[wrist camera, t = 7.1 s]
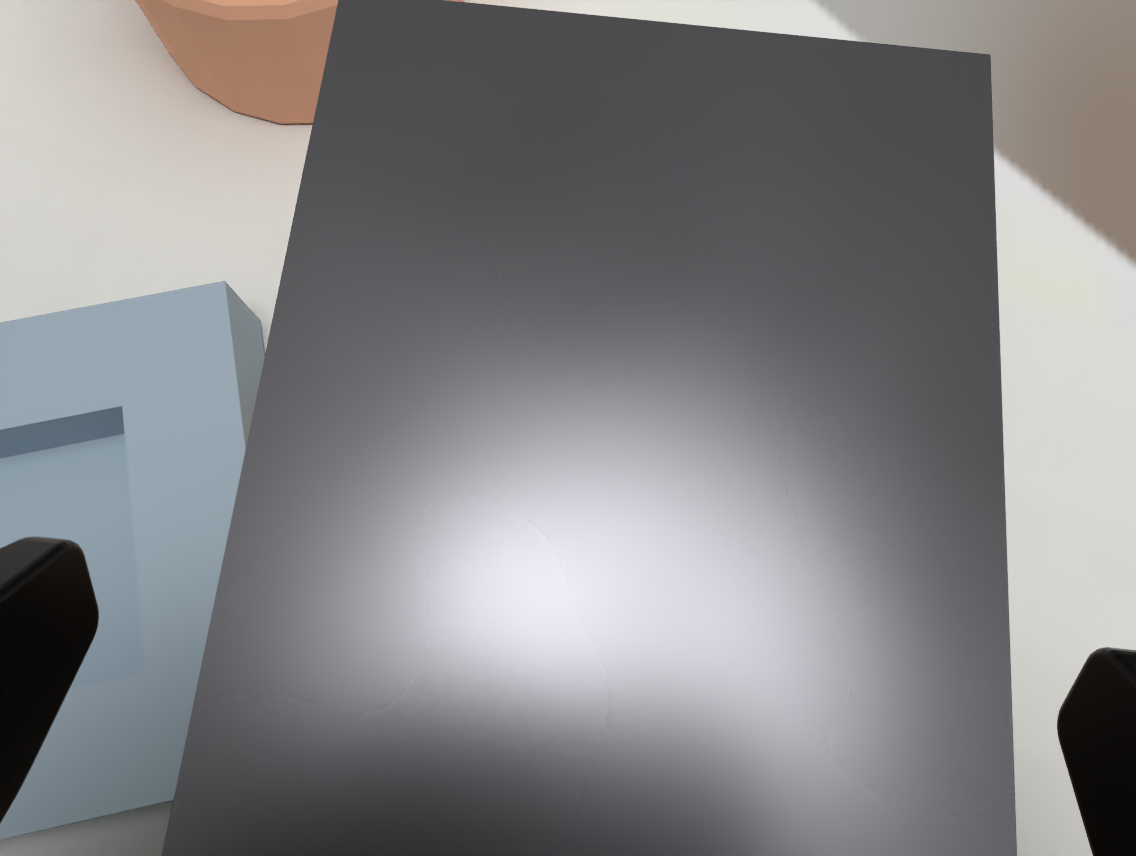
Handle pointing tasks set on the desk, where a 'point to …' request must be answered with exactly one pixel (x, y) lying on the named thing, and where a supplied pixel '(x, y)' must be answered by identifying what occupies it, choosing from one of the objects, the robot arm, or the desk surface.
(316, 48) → the salt shaker
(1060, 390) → the desk surface
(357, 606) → the grey hook block
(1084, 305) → the desk surface
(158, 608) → the square socket block
